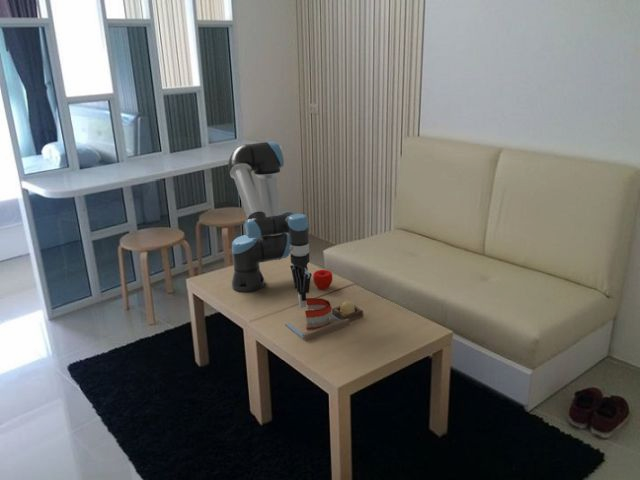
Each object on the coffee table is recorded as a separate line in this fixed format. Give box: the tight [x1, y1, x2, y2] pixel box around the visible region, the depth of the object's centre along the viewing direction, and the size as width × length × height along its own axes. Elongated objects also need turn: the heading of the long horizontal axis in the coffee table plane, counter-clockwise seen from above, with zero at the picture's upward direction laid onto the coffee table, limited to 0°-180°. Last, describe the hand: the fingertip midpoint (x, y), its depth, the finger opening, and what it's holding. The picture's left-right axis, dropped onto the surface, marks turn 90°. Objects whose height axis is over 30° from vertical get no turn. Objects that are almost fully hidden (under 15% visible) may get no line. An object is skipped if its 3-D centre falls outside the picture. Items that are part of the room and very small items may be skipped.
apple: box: [312, 269, 333, 291], centre depth 258 cm, size 9×9×8 cm
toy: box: [304, 297, 333, 331], centre depth 228 cm, size 12×10×8 cm
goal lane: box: [284, 311, 350, 342], centre depth 227 cm, size 16×20×2 cm
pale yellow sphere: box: [339, 300, 355, 315], centre depth 232 cm, size 6×6×6 cm
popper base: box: [331, 305, 364, 323], centre depth 233 cm, size 9×9×3 cm
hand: (302, 306), depth 234 cm, fingers closed
